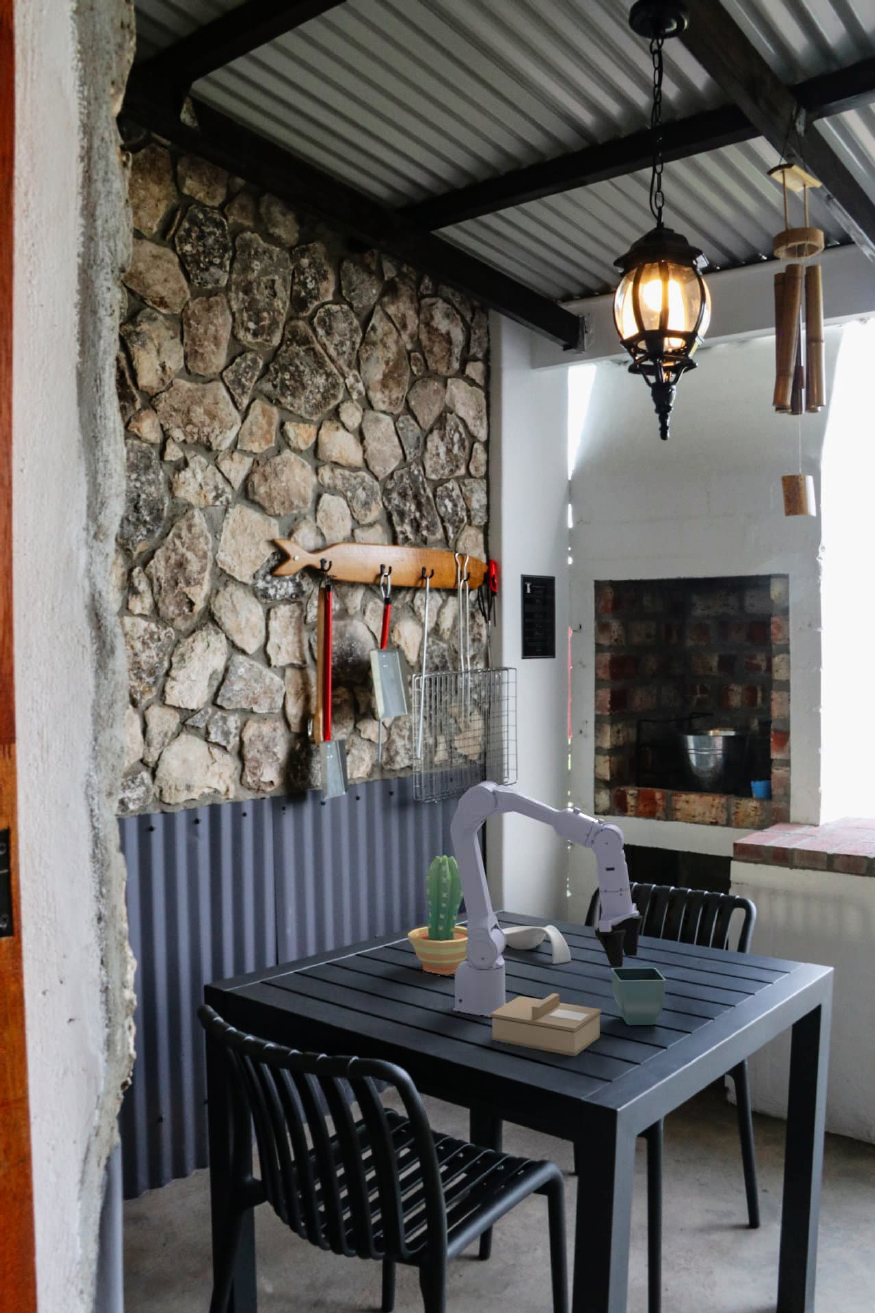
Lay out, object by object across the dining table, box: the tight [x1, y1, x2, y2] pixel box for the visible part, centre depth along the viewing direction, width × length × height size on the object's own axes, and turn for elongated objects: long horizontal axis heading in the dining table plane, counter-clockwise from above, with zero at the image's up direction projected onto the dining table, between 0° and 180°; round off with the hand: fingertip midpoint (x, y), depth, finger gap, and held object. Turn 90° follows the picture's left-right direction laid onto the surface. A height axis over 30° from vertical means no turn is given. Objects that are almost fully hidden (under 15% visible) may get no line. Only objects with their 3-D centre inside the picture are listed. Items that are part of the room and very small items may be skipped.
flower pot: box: [610, 967, 667, 1026], centre depth 202 cm, size 9×9×9 cm
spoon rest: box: [501, 924, 572, 965], centre depth 253 cm, size 24×12×7 cm, turn 27°
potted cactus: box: [407, 854, 468, 975], centre depth 239 cm, size 15×15×25 cm
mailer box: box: [491, 1014, 601, 1057], centre depth 193 cm, size 16×11×4 cm
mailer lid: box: [489, 992, 602, 1032], centre depth 193 cm, size 16×12×3 cm
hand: (624, 961), depth 203 cm, fingers open, 7 cm apart
